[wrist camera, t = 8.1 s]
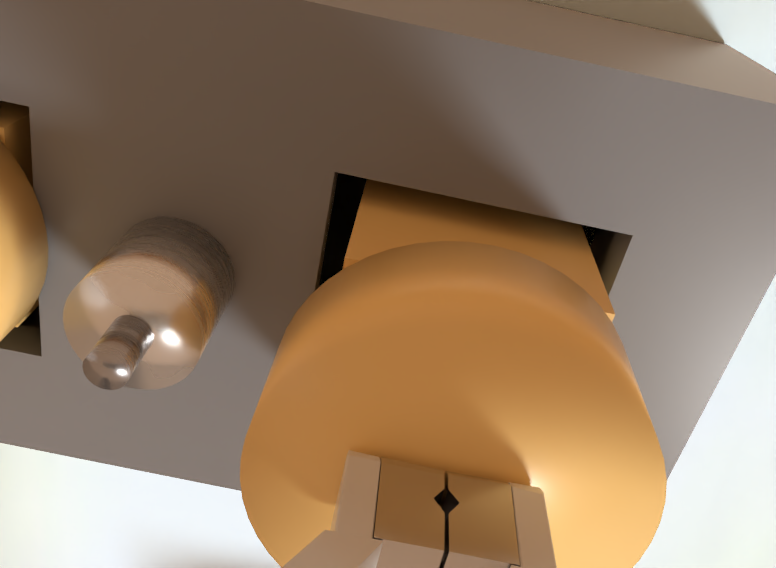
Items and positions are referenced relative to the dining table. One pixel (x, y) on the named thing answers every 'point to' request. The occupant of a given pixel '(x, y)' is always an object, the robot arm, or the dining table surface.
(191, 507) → the dining table surface
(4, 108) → the knob
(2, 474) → the dining table surface
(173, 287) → the potentiometer
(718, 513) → the dining table surface
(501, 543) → the robot arm
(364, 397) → the knob
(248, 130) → the knob housing
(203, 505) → the dining table surface
